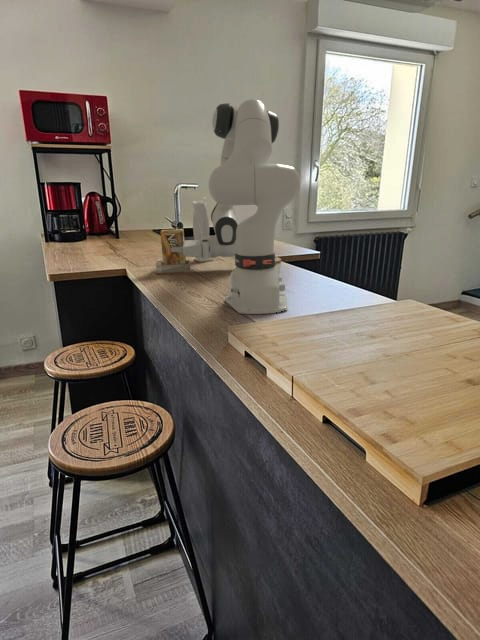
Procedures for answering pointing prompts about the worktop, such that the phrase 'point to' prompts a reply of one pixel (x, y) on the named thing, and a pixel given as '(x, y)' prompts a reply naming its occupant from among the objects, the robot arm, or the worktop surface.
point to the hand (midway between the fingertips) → (171, 248)
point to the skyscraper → (200, 224)
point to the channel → (172, 268)
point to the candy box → (172, 240)
